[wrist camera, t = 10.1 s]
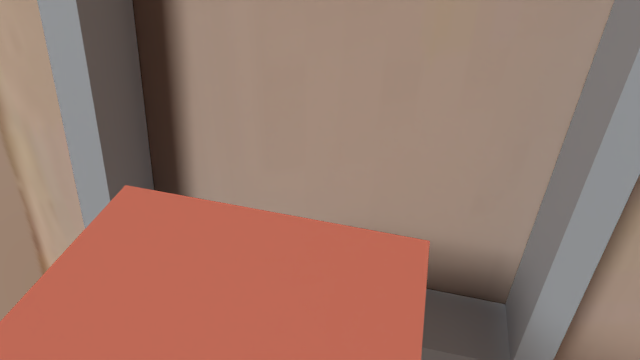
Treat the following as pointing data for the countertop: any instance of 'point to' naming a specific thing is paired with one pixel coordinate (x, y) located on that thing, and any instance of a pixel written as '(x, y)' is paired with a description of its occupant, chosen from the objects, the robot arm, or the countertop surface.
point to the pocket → (440, 308)
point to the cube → (221, 288)
